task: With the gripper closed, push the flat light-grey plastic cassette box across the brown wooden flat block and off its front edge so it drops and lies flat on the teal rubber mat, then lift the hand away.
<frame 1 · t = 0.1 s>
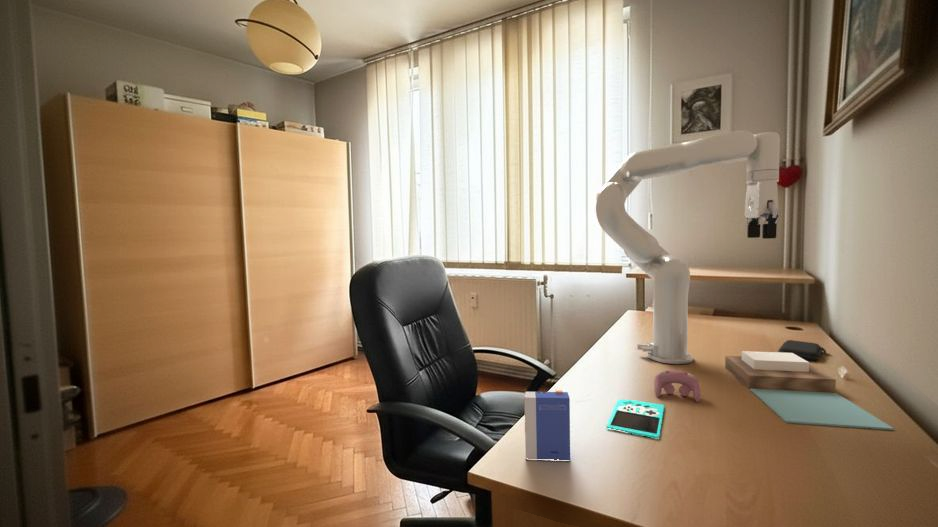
hand: (761, 238, 118), 37 cm above the table, tool pointing down, fingers open, 9 cm apart
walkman: (547, 458, 74), on the table
video game controller: (676, 397, 99), on the table
mat: (813, 407, 90), on the table
cassette box: (773, 365, 107), point 3 cm above the table, touching brown wooden flat block
brown wooden flat block: (775, 379, 107), on the table
carrying case or bag: (802, 356, 127), on the table
handheld game console: (637, 421, 88), on the table
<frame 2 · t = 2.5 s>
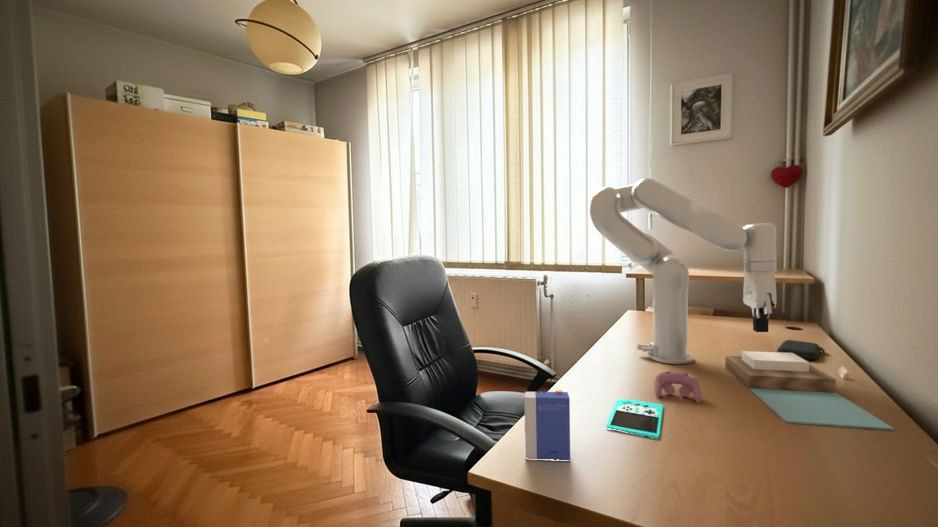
hand: (760, 331, 116), 10 cm above the table, tool pointing down, fingers closed
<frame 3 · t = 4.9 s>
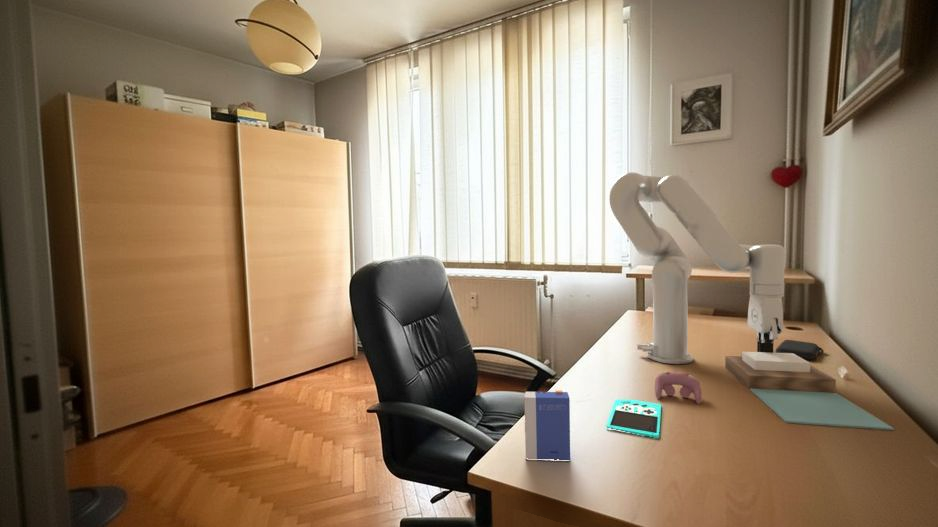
hand: (765, 356, 112), 4 cm above the table, tool pointing down, fingers closed
cassette box: (774, 365, 107), point 4 cm above the table, touching gripper
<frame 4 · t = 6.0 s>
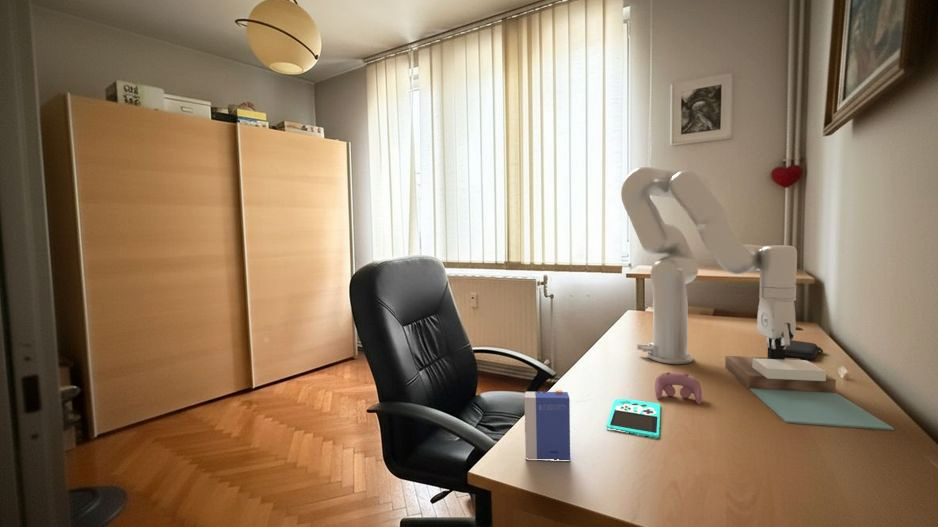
hand: (775, 362, 107), 4 cm above the table, tool pointing down, fingers closed
cassette box: (787, 373, 101), point 4 cm above the table, touching brown wooden flat block, gripper
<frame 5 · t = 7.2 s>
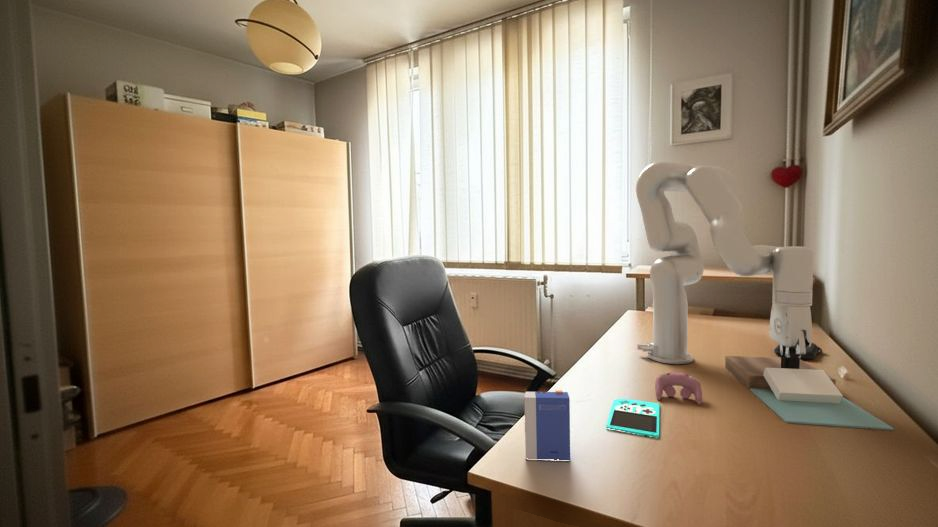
hand: (789, 372, 100), 4 cm above the table, tool pointing down, fingers closed
cassette box: (799, 388, 96), point 2 cm above the table, tilted 24°, touching gripper, mat
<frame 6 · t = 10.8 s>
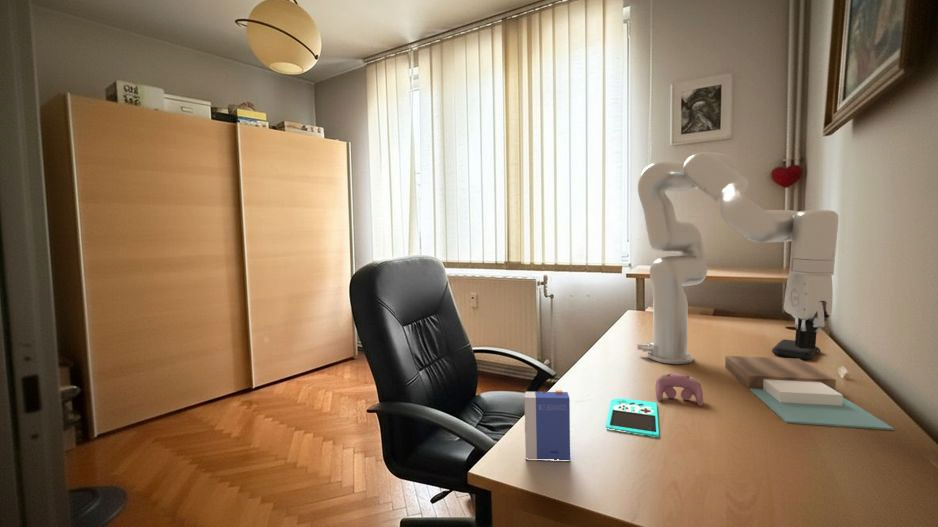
hand: (804, 347, 92), 13 cm above the table, tool pointing down, fingers closed
cassette box: (800, 396, 95), resting on mat
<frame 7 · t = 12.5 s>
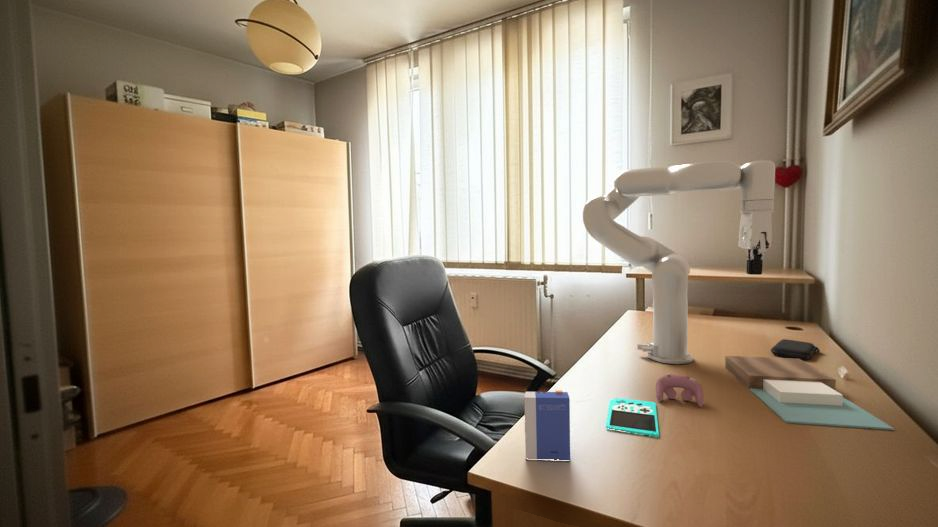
hand: (754, 274, 113), 27 cm above the table, tool pointing down, fingers closed
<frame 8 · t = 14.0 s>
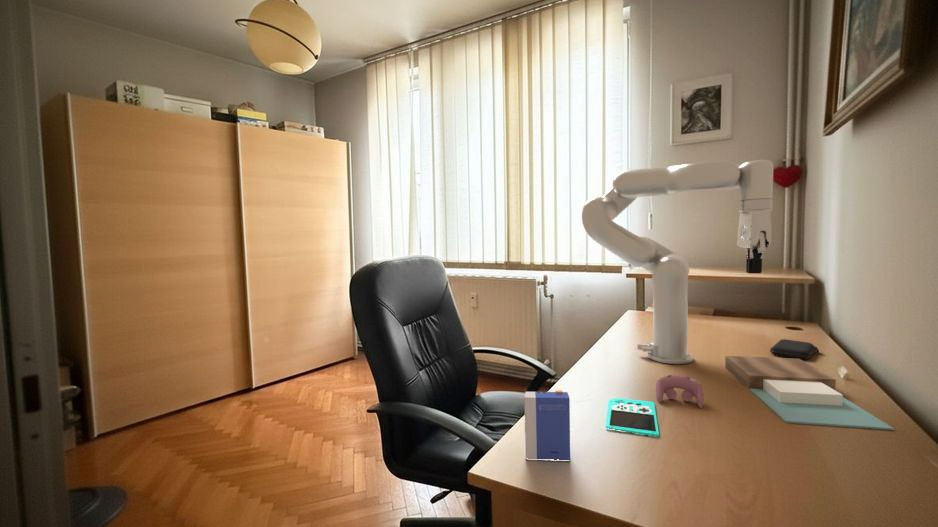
hand: (753, 272, 114), 27 cm above the table, tool pointing down, fingers closed
at the end: cassette box inside the target area (5.6 cm from its centre), resting on mat; cassette box tilted 0° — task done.
